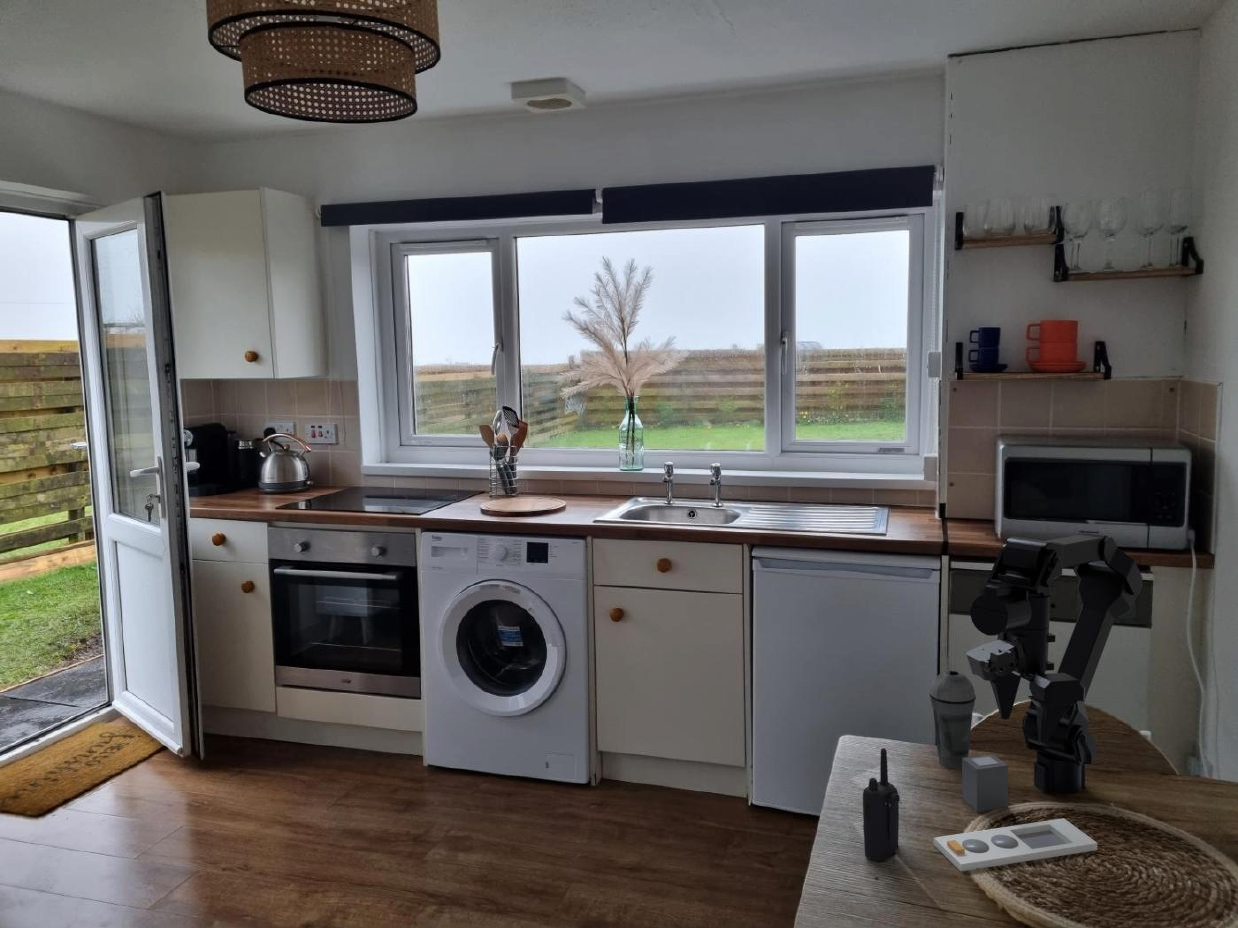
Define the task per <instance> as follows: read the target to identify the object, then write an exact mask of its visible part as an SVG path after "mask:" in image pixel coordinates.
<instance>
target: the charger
mask: <svg viewBox="0 0 1238 928" xmlns="http://www.w3.org/2000/svg"><path fill="white" fill-rule="evenodd" d="M961 773H962V774H961V777H962V778H961V781H962V783H961V785H962V786H961V787H962V788H961V790H962V791H961V792H962V793H961V798H962V801H963V802H964V803H966V804H967V805H968V806H969V807H970V808H971V809H973V810H974V812H976V813H981V812H987V811H993V810H994V811H995V810H1001V809H1008V808H1009V765H1008V764H1007V763H1005V762H1004V761H1003V760H1002V759H1000V758H999V757H997V756H996V755H994V754H992V753H991V754H983V755H982V754H981V755H975V756H968V757H966V758H962V768H961Z"/></svg>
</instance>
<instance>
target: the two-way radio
mask: <svg viewBox="0 0 1238 928" xmlns="http://www.w3.org/2000/svg"><path fill="white" fill-rule="evenodd" d="M879 765H880V766H879V767H880V773H879V774H880V775H879V777H880V780H879V781H877V780H878V779H877V778H875V777H870V778H869V781H868V786H867V787H865V788H864V789H863V792H862V817H863V819H862V820H863V827H862V829H863V841H864V856H865V857H866V858H868V859H869V860H871V861H874V862H875V861H876V862H882V861H886V860H889V859H891V858H892V857H894V856H896V855H897V853H896V851H897V850H898V849H899V828H900V827H899V824H900V823H899V820H900V819H899V818H900V817H899V816H900V815H899V814H900V812H899V811H900V808H899V807H900V806H899V805H900V804H899V803H900V799H901V796H900V795H899V793H898V789H897V787H896V786H895V785H894V784H893V783H890V782H889V774H888V769H889V768H888V754H887V749H886V748H884V747H883V748H881V749H880V763H879Z"/></svg>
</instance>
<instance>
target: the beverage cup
mask: <svg viewBox="0 0 1238 928" xmlns="http://www.w3.org/2000/svg"><path fill="white" fill-rule="evenodd" d="M942 649H943V650H942V651H943V657H944V663H945V664H944V666H945V671H943V672H940V674H938V675H936V677H935V678H934V679H933V681H932V683H931V686H930V687H931V688H930V692H929V697H930V703H931V706H932V707H931V708H932V709H933V719H934V721H933V722H934V730H935V739H936V740H935V741H936V753H937V757H938V762H939V764H940V765H942V766H944V767H947V768H951V769H952V768H953V769H962V758H966V757H969V754H970V744H971V743H970V741H971V733H972V732H971V731H972V730H971V729H972V720H973V711H974V707H975V701H976V700H977V699H976V696H977V695H976V694H975V689H974V688H975V687H974V686H973V683H972V681H971V680H970V679H969V678H968V677H967V676H966V675H965V674H963V673H961V672H958V671H956V670H951V669H950V666H949V658H948V657H949V656H948V649H947V646H946V645H943V646H942Z"/></svg>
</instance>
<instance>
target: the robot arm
mask: <svg viewBox="0 0 1238 928" xmlns="http://www.w3.org/2000/svg"><path fill="white" fill-rule="evenodd" d="M1071 567H1073V569H1072V570H1073V572H1074V574H1075V576H1076V578H1077V580H1078V586H1077V591H1078V593H1079V598H1080V601H1081V604H1082V605H1081V609H1080V611H1079V615H1078V617H1077V620H1076V623H1075V624H1074V627H1073V630H1072V633H1071V635H1070V637H1069V639H1068V640H1069V641H1068V643H1067V646H1066V649H1065V651H1064V654H1063V656H1062V659H1061V661H1060V663H1059V667H1058V669H1057V672H1054V673H1053V672H1052V673H1046V672H1048V671H1055V662H1052V661H1050V660H1049V643H1056V634H1053V633H1052V632H1050V615H1051V614H1050V613H1051V611H1050V610H1051V594H1052V593H1057V590H1058V588H1057V586H1056V585H1055V583H1053V582H1054V580H1056V578H1058V577H1061V576H1062V575H1063V569H1065V568H1071ZM1143 580H1144V578H1143V576H1142V574H1141V571H1140V569H1139V566H1137V563H1136V561H1135V560H1134V559H1133V558H1132V557H1130V556H1129V555H1128V554H1127V553H1126V552H1124V551H1123V550H1122V549H1120V548H1119V547H1118V545H1117V543H1116V542H1115V540H1114V538H1113V537H1110V536H1109V535H1106V534H1105V535H1104V534H1098V533H1090V532H1081V533H1078V534H1076V535H1072V536H1071V535H1070V536H1066V537H1058V538H1054V539H1049V540H1040V539H1033V538H1025V537H1017V536H1011V537H1009V538H1007V540H1005V543H1004V544H1003V545H1002V546H1001V548H1000V550H999V552H998V554H997V557H996V559H995V561H994V564H993V567H992V568H991V571H990V574H989V576H988V578H987V581H986V583H987V584H988V585H985V586H984V588H983V589H984V590H983V591H984V592H983V594H981V595H979V596H977V598H975V599H974V601H973V602H972V604H971V607H970V608H969V610H970V611H969V615H970V619H971V622H972V624H973V626H974V627H975V628H976V629H977V630H978V632H980V633H981V634H984V635H985V636H991V637H992V636H993V637H994V636H997V639H996V640H994V641H989V642H986V643H983V644H982V645H979V646H976V647H975V648H971V649H969V650H968V651H967V652H966V653H965V655H966V658H967V661H968V665H969V668H970V671H971V673H972V675H974V676H978V677H979V678H981V679H982V680H983V681H987V682H988V681H989V684H990V686H991V689H992V692H993V694H994V699H995V703H996V705H997V709H998V712H999V716H1000V718H1001V719H1002V720H1009V719H1010V716H1011V714H1012V710H1013V708H1014V704H1015V701H1016V696H1017V694H1018V690H1019V686H1020V682H1021V679H1023V680H1026V681H1028V682H1029V683H1028V684H1029V686H1028V689H1029V691H1030V694H1031V695H1028V698H1029V699H1030V704H1029V706H1028V708H1027V710H1026V711H1025V714H1024V717H1023V719H1022V727H1021V728H1022V732H1023V737H1024V742H1025V746H1026V749H1027V750H1029V751H1034V752H1036V761H1035V762H1034V764H1033V786H1034V787H1036V788H1037V789H1038V790H1040V791H1041V792H1043V793H1046V794H1047V793H1048V794H1053V793H1054V794H1060V795H1075V794H1078V793H1080V792H1081V790H1082V789H1085V788H1086V765H1093V764H1094V760H1095V759H1096V756H1097V753H1098V751H1097V749H1098V742H1097V741H1096V740H1095V739H1094V737H1093V736H1092V734H1091V733H1090V732H1089V731H1088V729H1089V725H1090V719H1089V716H1088V713H1087V709H1086V705H1085V701H1086V698H1087V695H1088V693H1089V689H1090V687H1091V685H1092V682H1093V679H1094V677H1095V673H1096V671H1097V669H1098V666H1099V662H1100V659H1101V658H1102V655H1103V652H1104V649H1105V646H1106V644H1107V641H1108V639H1109V636H1110V632H1111V630H1112V628H1113V625H1114V623H1115V620H1117V619H1119V617H1121V616H1122V615H1124V614H1125V613H1126V612H1129V611H1130V610H1131V609H1132V608H1133V606H1134V604H1135V602H1136V599H1137V597H1138V595H1140V594H1141V592H1142V588H1143V586H1144V585H1143V583H1144V581H1143Z"/></svg>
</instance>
